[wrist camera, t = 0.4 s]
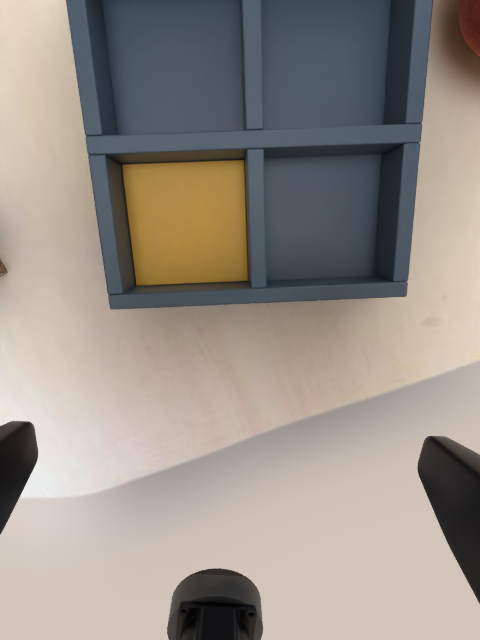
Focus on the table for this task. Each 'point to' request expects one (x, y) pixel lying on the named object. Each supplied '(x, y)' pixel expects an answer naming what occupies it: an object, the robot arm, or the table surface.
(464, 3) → the apple
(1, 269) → the block
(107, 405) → the table surface
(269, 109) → the grid
